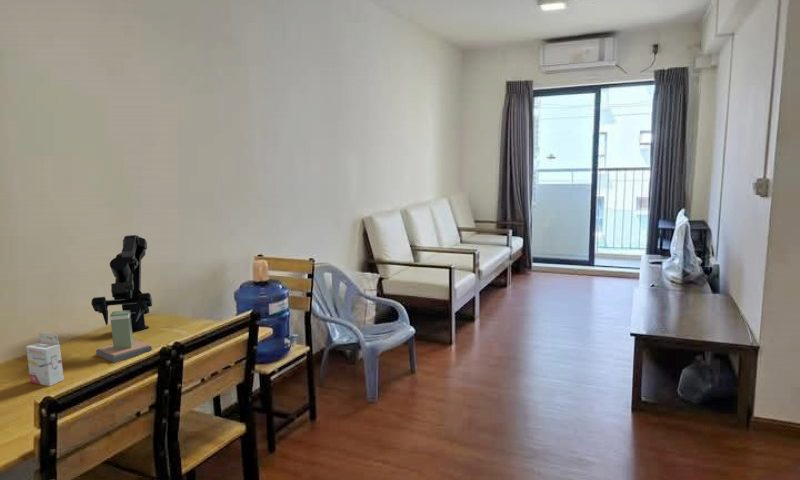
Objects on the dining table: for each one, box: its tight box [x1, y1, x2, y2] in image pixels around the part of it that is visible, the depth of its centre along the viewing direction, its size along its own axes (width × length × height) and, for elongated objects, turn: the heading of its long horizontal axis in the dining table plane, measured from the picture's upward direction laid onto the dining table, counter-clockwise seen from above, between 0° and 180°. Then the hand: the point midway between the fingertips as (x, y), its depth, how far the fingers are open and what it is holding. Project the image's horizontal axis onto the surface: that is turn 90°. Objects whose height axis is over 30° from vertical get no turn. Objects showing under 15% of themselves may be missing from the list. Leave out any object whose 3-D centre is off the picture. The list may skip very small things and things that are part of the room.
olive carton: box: [109, 310, 134, 350], centre depth 184 cm, size 6×5×12 cm
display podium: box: [95, 338, 153, 364], centre depth 185 cm, size 13×13×2 cm
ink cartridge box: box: [25, 332, 65, 387], centre depth 160 cm, size 9×5×15 cm, turn 71°
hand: (121, 322), depth 183 cm, fingers open, 9 cm apart
